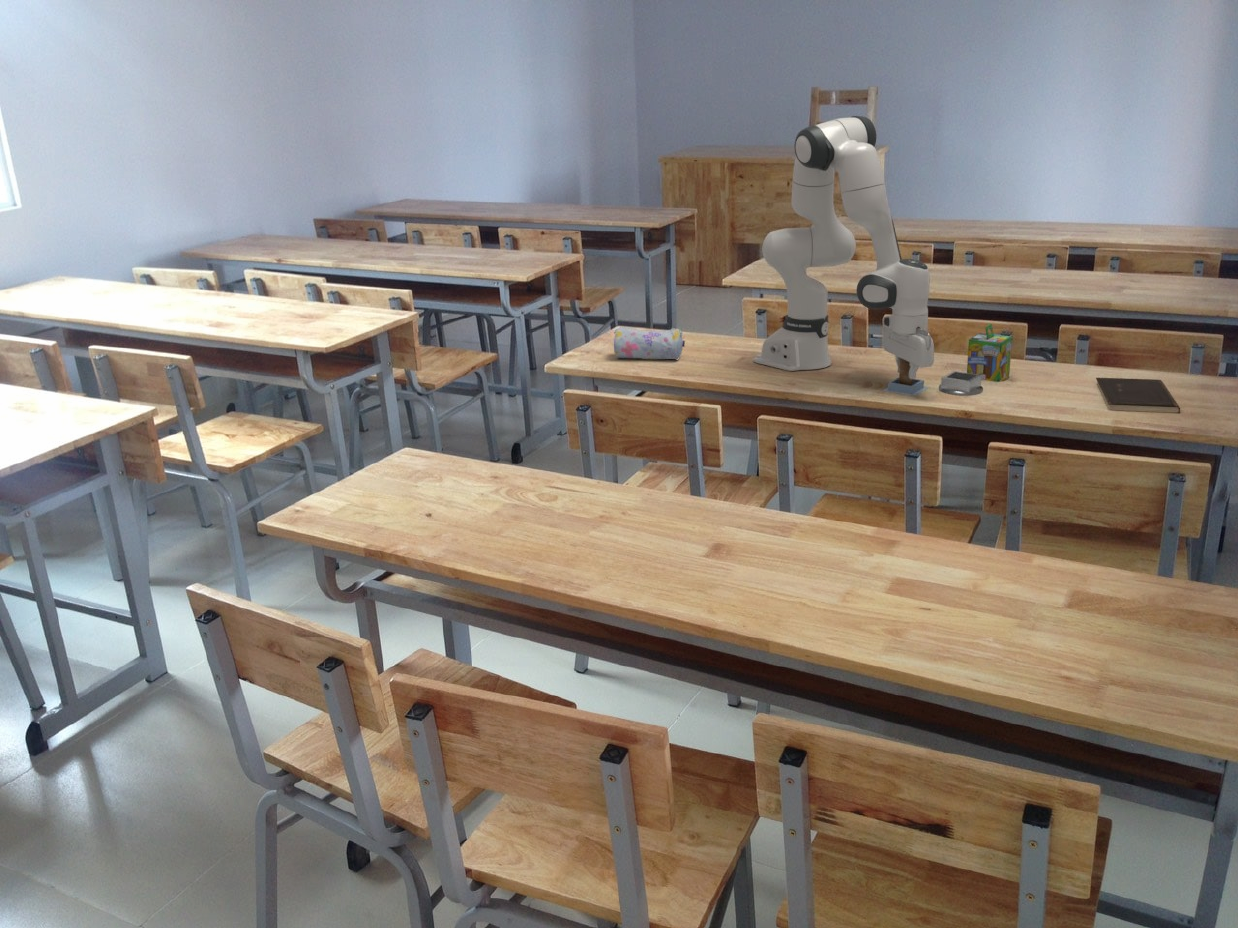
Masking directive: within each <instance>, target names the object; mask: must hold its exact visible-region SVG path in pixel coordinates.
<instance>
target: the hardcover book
mask: <svg viewBox="0 0 1238 928" xmlns="http://www.w3.org/2000/svg"><path fill="white" fill-rule="evenodd" d="M1095 380H1096V382H1097V383H1096V384H1098V385H1097V387H1098V386H1099V387H1098V389H1099V391H1100V393H1101V395H1102V397H1103V399H1104V402H1105V404H1106V405H1107V409H1108V410H1109V411H1125V412H1126V411H1127V412H1131V411H1132V412H1145V413H1147V412H1150V413H1171V414H1173V413H1174V414H1180V412H1181V407H1180V406H1179V404H1178V403H1177V401H1176V399H1175V398H1174V397H1173V395H1172V394H1171V392H1170V391H1169V389H1168V388H1167V387H1166V385H1165V383H1164V381H1162V379H1153V378H1152V379H1151V378H1121V377H1120V378H1119V377H1116V378H1115V377H1095Z"/></svg>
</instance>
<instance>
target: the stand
mask: <svg viewBox="0 0 1238 928" xmlns="http://www.w3.org/2000/svg"><path fill="white" fill-rule="evenodd" d="M887 383H888V385H887V387H886V388H884V389H882V391H883V392H889V393H894V394H900V395H907V396H912V397H915V396H917V395H919V394H921V393H922V392H924V391H926V390H927V389H929V388H930V387H929V386H925V380H924V379H918V378H915V379H913V385H912V386H910V385H904V384H899V376H898V377H897V378H895V379H892V380H890V381H889V382H887Z"/></svg>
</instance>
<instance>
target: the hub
mask: <svg viewBox="0 0 1238 928" xmlns="http://www.w3.org/2000/svg"><path fill="white" fill-rule="evenodd" d="M981 378H982V375H979V374H972V373H967V372H965V371H964V372H963V371H957V370H952V371H951V372H949V373H947V374H946V375H944V376H942V377H941V381H940V384H939V385H938V390H939V392H941V393H943V394H947V395H951V396H958V397H959V396H962V397H965V396H966V397H968V396H970V397H971V396H976V395H979V394H982V393H983V392H984V386H982V379H981Z"/></svg>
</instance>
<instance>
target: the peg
mask: <svg viewBox="0 0 1238 928" xmlns="http://www.w3.org/2000/svg"><path fill="white" fill-rule="evenodd" d="M909 364H910V362H908V361H906V360H904V359H902V358H901V359H900V372H899V373H898V374H899V376H898V377H899V384H904V385H910V386H912V385H913V379H910V378H908V377H907V371H909V370H910V367H911V366H909Z"/></svg>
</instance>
